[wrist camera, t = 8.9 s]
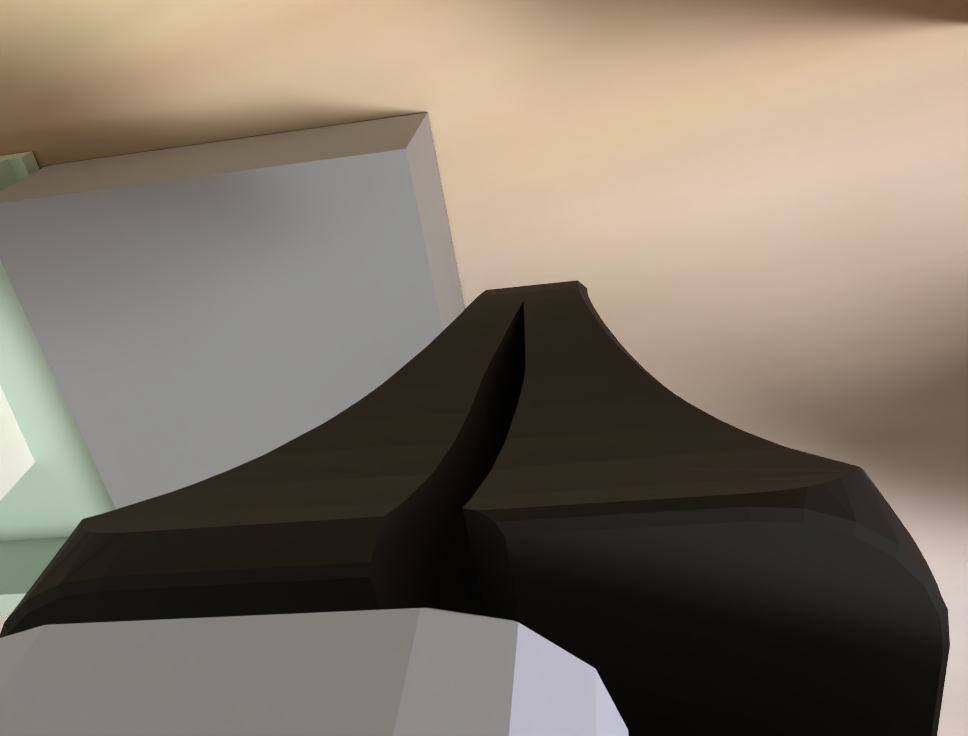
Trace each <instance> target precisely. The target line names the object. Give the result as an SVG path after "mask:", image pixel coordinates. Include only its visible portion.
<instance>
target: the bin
mask: <svg viewBox="0 0 968 736" xmlns="http://www.w3.org/2000/svg"><path fill="white" fill-rule="evenodd" d="M37 170H39V166H38V164H37V162H36V159H35V157H34V154H33V152H32V151H31V152H24V153H17V154H10V155H3V156H0V192H1V191H3V190H4V189H6V188H8V187H10V186H11V185H13V184H15V183H17V182H18V181H20V180H22V179H23V178H25V177H27V176H29V175H30V174H32V173H34V172H36V171H37ZM0 386H1V388H2V390H3V392H4V394H5V397H6V399H7V401H8V403H9V406H10V408H11V410H12V412H13V415H14V417H15V419H16V421H17V424H18V426H19V428H20V430H21V433H22V435H23V437H24V439H25V442H26V444H27V446H28V448H29V451H30V453H31V455H32V457H33V459H34V462H35V463H34V464H33V465H32V466H31V467H30V468H29V470H28V471H27V472H26V473H25V474H24V475H23V476H22V477H21V478H20V479H19V481H18V482H17V483H16V484H15V485H14V486H13V487H12V488H11V489H10V491H9V492H8V493H7V494H6V495H5V496H4V497H3V498H2V499H1V501H0V615H4V614H11V613H12V612H13V611H14V609H15V608H16V607H17V605H18V604H19V603H20V601H21V600H22V599H23V597H24V596H25V595H26V593H27V592H28V591H29V589H30V588H31V587H32V585H33V584H34V583H35V581H36V580H37V579H38V577H39V576H40V575H41V573H42V572H43V571H44V569H45V568H46V567H47V565H48V564H49V563H50V561H51V560H52V559H53V557H54V556H55V555H56V553H57V552H58V551H59V549H60V548H61V547H62V545H63V544H64V543H65V541H66V540H67V539H68V537H69V536H70V535H71V533H72V532H73V531H74V529H75V528H76V527H77V525H78V524H79V523H80V521H81V520H82V519H84V518H88V517H92V516H95V515H99V514H103V513H106V512H109V511H112V510H116V509H115V506H114V504H113V502H112V500H111V498H110V496H109V494H108V491H107V489H106V487H105V485H104V483H103V481H102V478H101V476H100V474H99V472H98V470H97V468H96V465H95V463H94V461H93V459H92V457H91V455H90V453H89V450H88V448H87V446H86V444H85V442H84V440H83V437H82V435H81V433H80V431H79V429H78V427H77V424H76V422H75V420H74V418H73V416H72V414H71V412H70V409H69V407H68V405H67V403H66V401H65V399H64V396H63V394H62V392H61V390H60V388H59V386H58V383H57V381H56V379H55V377H54V375H53V373H52V370H51V368H50V366H49V364H48V362H47V360H46V358H45V355H44V353H43V351H42V349H41V347H40V345H39V342H38V340H37V338H36V336H35V334H34V332H33V329H32V327H31V325H30V323H29V321H28V319H27V317H26V314H25V312H24V310H23V308H22V306H21V304H20V301H19V299H18V297H17V295H16V293H15V291H14V288H13V286H12V284H11V282H10V280H9V278H8V276H7V273H6V271H5V269H4V267H3V265H2V263H1V260H0Z"/></svg>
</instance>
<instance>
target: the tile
mask: <svg viewBox="0 0 968 736" xmlns="http://www.w3.org/2000/svg"><path fill="white" fill-rule="evenodd" d="M34 463H35V462H34V459H33V457H32V455H31V453H30V451H29V448H28V446H27V444H26V442H25V439H24V437H23V435H22V433H21V430H20V428H19V426H18V424H17V421H16V419H15V417H14V415H13V412H12V410H11V408H10V406H9V403H8V401H7V399H6V397H5V394H4V392H3V390H2V388H1V386H0V501H1V499H2V498H3V497H4V496H5V495H6V494H7V493H8V492H9V491H10V489H11V488H12V487H13V486H14V485H15V484H16V483H17V482H18V481H19V479H20V478H21V477H22V476H23V475H24V474H25V473H26V472H27V471H28V470H29V468H30V467H31V466H32V465H33V464H34Z"/></svg>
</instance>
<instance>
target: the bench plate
mask: <svg viewBox="0 0 968 736" xmlns="http://www.w3.org/2000/svg"><path fill="white" fill-rule="evenodd" d="M0 260H1V263H2V265H3V267H4V269H5V271H6V273H7V276H8V278H9V280H10V282H11V284H12V286H13V288H14V291H15V293H16V295H17V297H18V299H19V301H20V304H21V306H22V308H23V310H24V312H25V314H26V317H27V319H28V321H29V323H30V325H31V327H32V329H33V332H34V334H35V336H36V338H37V340H38V342H39V345H40V347H41V349H42V351H43V353H44V355H45V358H46V360H47V362H48V364H49V366H50V368H51V370H52V373H53V375H54V377H55V379H56V381H57V383H58V386H59V388H60V390H61V392H62V394H63V396H64V399H65V401H66V403H67V405H68V407H69V409H70V412H71V414H72V416H73V418H74V420H75V422H76V424H77V427H78V429H79V431H80V433H81V435H82V437H83V440H84V442H85V444H86V446H87V448H88V450H89V453H90V455H91V457H92V459H93V461H94V463H95V465H96V468H97V470H98V472H99V474H100V476H101V478H102V481H103V483H104V485H105V487H106V489H107V491H108V494H109V496H110V498H111V500H112V502H113V504H114V506H115V509H119V508H122V507H125V506H128V505H131V504H135V503H138V502H141V501H144V500H147V499H151V498H154V497H157V496H160V495H163V494H167V493H170V492H173V491H176V490H178V489H181V488H184V487H187V486H190V485H192V484H195V483H198V482H200V481H203V480H205V479H208V478H210V477H213V476H215V475H218V474H220V473H223V472H225V471H228V470H230V469H233V468H235V467H237V466H239V465H242V464H244V463H246V462H249V461H251V460H253V459H255V458H258V457H260V456H262V455H264V454H266V453H268V452H270V451H272V450H274V449H276V448H278V447H280V446H282V445H283V444H285V443H287V442H289V441H291V440H293V439H295V438H297V437H299V436H300V435H302V434H304V433H306V432H308V431H310V430H312V429H314V428H316V427H317V426H319V425H321V424H323V423H325V422H326V421H328V420H330V419H331V418H333V417H335V416H336V415H338V414H339V413H341V412H342V411H344V410H345V409H347V408H348V407H350V406H351V405H353V404H355V403H356V402H358V401H359V400H361V399H362V398H363V397H365V396H366V395H368V394H369V393H370V392H372V391H373V390H375V389H376V388H377V387H379V386H380V385H381V384H383V383H384V382H385V381H386V380H388V379H389V378H390V377H391V376H392V375H393V374H395V373H396V372H397V371H398V370H399V369H401V368H402V367H403V366H404V365H405V364H407V363H408V362H409V361H410V360H411V359H413V358H414V357H415V356H416V355H417V354H418V353H420V352H421V351H422V350H423V349H424V348H425V347H427V346H428V345H429V344H430V343H431V342H432V341H433V340H434V339H435V338H436V337H437V336H438V335H439V334H440V333H441V332H442V331H443V330H444V329H445V328H446V327H448V326H449V325H450V324H451V323H452V322H453V321H454V320H455V319H456V318H457V317H458V316H459V315H460V314H461V313H462V312H463V311H464V310H465V307H464V302H463V296H462V291H461V286H460V280H459V275H458V270H457V265H456V259H455V254H454V249H453V243H452V238H451V233H450V227H449V222H448V217H447V212H446V206H445V201H444V196H443V190H442V185H441V180H440V174H439V169H438V164H437V159H436V153H435V148H434V143H433V137H432V132H431V127H430V122H429V116H428V112H426V113H419V114H412V115H404V116H397V117H390V118H383V119H376V120H369V121H362V122H354V123H347V124H340V125H333V126H326V127H319V128H312V129H304V130H297V131H290V132H283V133H276V134H269V135H261V136H254V137H247V138H240V139H233V140H226V141H219V142H211V143H204V144H197V145H190V146H183V147H176V148H169V149H161V150H154V151H147V152H140V153H133V154H126V155H118V156H111V157H104V158H97V159H90V160H83V161H76V162H68V163H61V164H54V165H47V166H44V167H43V168H41V169H39V170H37V171H36V172H34V173H32V174H30V175H29V176H27V177H25V178H23V179H22V180H20V181H18V182H17V183H15V184H13V185H11V186H10V187H8V188H6V189H4V190H3V191H1V192H0Z"/></svg>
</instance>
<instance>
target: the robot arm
mask: <svg viewBox="0 0 968 736" xmlns="http://www.w3.org/2000/svg"><path fill="white" fill-rule="evenodd" d="M949 647H950V641H949V624H948V609H947V607H946V605H945V603H944V601H943V599H942V597H941V594H940V591H939V588H938V585H937V583H936V581H935V579H934V577H933V574H932V572H931V570H930V568H929V566H928V564H927V562H926V560H925V559H924V557H923V555H922V553H921V552H920V550H919V548H918V546H917V545H916V543H915V541H914V540H913V538H912V537H911V535H910V534H909V532H908V531H907V529H906V528H905V527H904V525H903V524H902V522H901V521H900V519H899V518H898V517H897V515H896V514H895V512H894V511H893V510H892V508H891V507H890V505H889V504H888V503H887V501H886V500H885V499H884V497H883V496H882V494H881V493H880V492H879V490H878V489H877V488H876V486H875V485H874V484H873V482H872V481H871V480H870V478H869V477H868V476H867V474H866V473H865V472H864V471H863V470H862V469H861V468H860V467H858V466H854V465H850V464H846V463H843V462H839V461H835V460H831V459H828V458H824V457H820V456H816V455H813V454H809V453H805V452H801V451H798V450H794V449H790V448H787V447H784V446H781V445H778V444H775V443H773V442H770V441H768V440H765V439H763V438H760V437H757V436H755V435H752V434H750V433H747V432H744V431H742V430H740V429H738V428H735V427H733V426H731V425H729V424H727V423H725V422H722V421H720V420H718V419H717V418H715V417H713V416H711V415H709V414H707V413H706V412H704V411H702V410H700V409H698V408H697V407H695V406H693V405H691V404H689V403H688V402H686V401H685V400H683V399H681V398H680V397H678V396H677V395H675V394H674V393H672V392H671V391H670V390H668V389H667V388H666V387H664V386H663V385H662V384H661V383H660V382H658V381H657V380H656V379H655V378H654V377H653V376H652V375H650V374H649V373H648V372H647V371H646V370H645V369H644V368H643V367H642V366H641V365H640V364H639V363H638V362H637V361H636V360H635V359H634V358H633V357H632V356H631V355H630V354H629V353H628V352H627V351H626V350H625V348H624V347H623V346H622V345H621V344H620V343H619V342H618V340H617V339H616V338H615V336H614V335H613V334H612V333H611V331H610V330H609V329H608V328H607V326H606V325H605V324H604V322H603V321H602V319H601V318H600V317H599V315H598V313H597V312H596V310H595V308H594V307H593V305H592V303H591V301H590V299H589V297H588V294H587V288H586V287H585V286H584V285H582V284H581V283H580V282H579V281H569V282H560V283H550V284H541V285H531V286H521V287H512V288H502V289H493V290H486V291H484V292H483V293H482V294H480V295H479V296H478V297H477V298H476V299H475V300H474V301H473V302H472V303H471V304H470V305H469V306H468V307H467V308H466V309H465V310H464V311H463V312H462V313H461V314H460V315H459V316H458V317H457V318H456V319H455V320H454V321H453V322H452V323H451V324H450V325H449V326H448V327H446V328H445V329H444V330H443V331H442V332H441V333H440V334H439V335H438V336H437V337H436V338H435V339H434V340H433V341H432V342H431V343H430V344H429V345H428V346H427V347H425V348H424V349H423V350H422V351H421V352H420V353H418V354H417V355H416V356H415V357H414V358H413V359H411V360H410V361H409V362H408V363H407V364H405V365H404V366H403V367H402V368H401V369H399V370H398V371H397V372H396V373H395V374H393V375H392V376H391V377H390V378H389V379H388V380H386V381H385V382H384V383H383V384H381V385H380V386H379V387H377V388H376V389H375V390H373V391H372V392H370V393H369V394H368V395H366V396H365V397H363V398H362V399H361V400H359V401H358V402H356V403H355V404H353V405H351V406H350V407H348V408H347V409H345V410H344V411H342V412H341V413H339V414H338V415H336V416H335V417H333V418H331V419H330V420H328V421H326V422H325V423H323V424H321V425H319V426H317V427H316V428H314V429H312V430H310V431H308V432H306V433H304V434H302V435H300V436H299V437H297V438H295V439H293V440H291V441H289V442H287V443H285V444H283V445H282V446H280V447H278V448H276V449H274V450H272V451H270V452H268V453H266V454H264V455H262V456H260V457H258V458H255V459H253V460H251V461H249V462H246V463H244V464H242V465H239V466H237V467H235V468H233V469H230V470H228V471H225V472H223V473H220V474H218V475H215V476H213V477H210V478H208V479H205V480H203V481H200V482H198V483H195V484H192V485H190V486H187V487H184V488H181V489H178V490H176V491H173V492H170V493H167V494H163V495H160V496H157V497H154V498H151V499H147V500H144V501H141V502H138V503H135V504H131V505H128V506H125V507H122V508H119V509H116V510H112V511H109V512H106V513H103V514H99V515H95V516H92V517H88V518H84V519H82V520H81V521H80V523H79V524H78V525H77V527H76V528H75V529H74V531H73V532H72V533H71V535H70V536H69V537H68V539H67V540H66V541H65V543H64V544H63V545H62V547H61V548H60V549H59V551H58V552H57V553H56V555H55V556H54V557H53V559H52V560H51V561H50V563H49V564H48V565H47V567H46V568H45V569H44V571H43V572H42V573H41V575H40V576H39V577H38V579H37V580H36V581H35V583H34V584H33V585H32V587H31V588H30V589H29V591H28V592H27V593H26V595H25V596H24V597H23V599H22V600H21V601H20V603H19V604H18V605H17V607H16V608H15V609H14V611H13V612H12V613H11V615H10V616H9V617H8V619H7V620H6V621H5V623H4V625H3V628H2V631H1V634H0V736H937V731H938V724H939V717H940V710H941V703H942V696H943V689H944V682H945V675H946V668H947V661H948V654H949Z"/></svg>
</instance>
